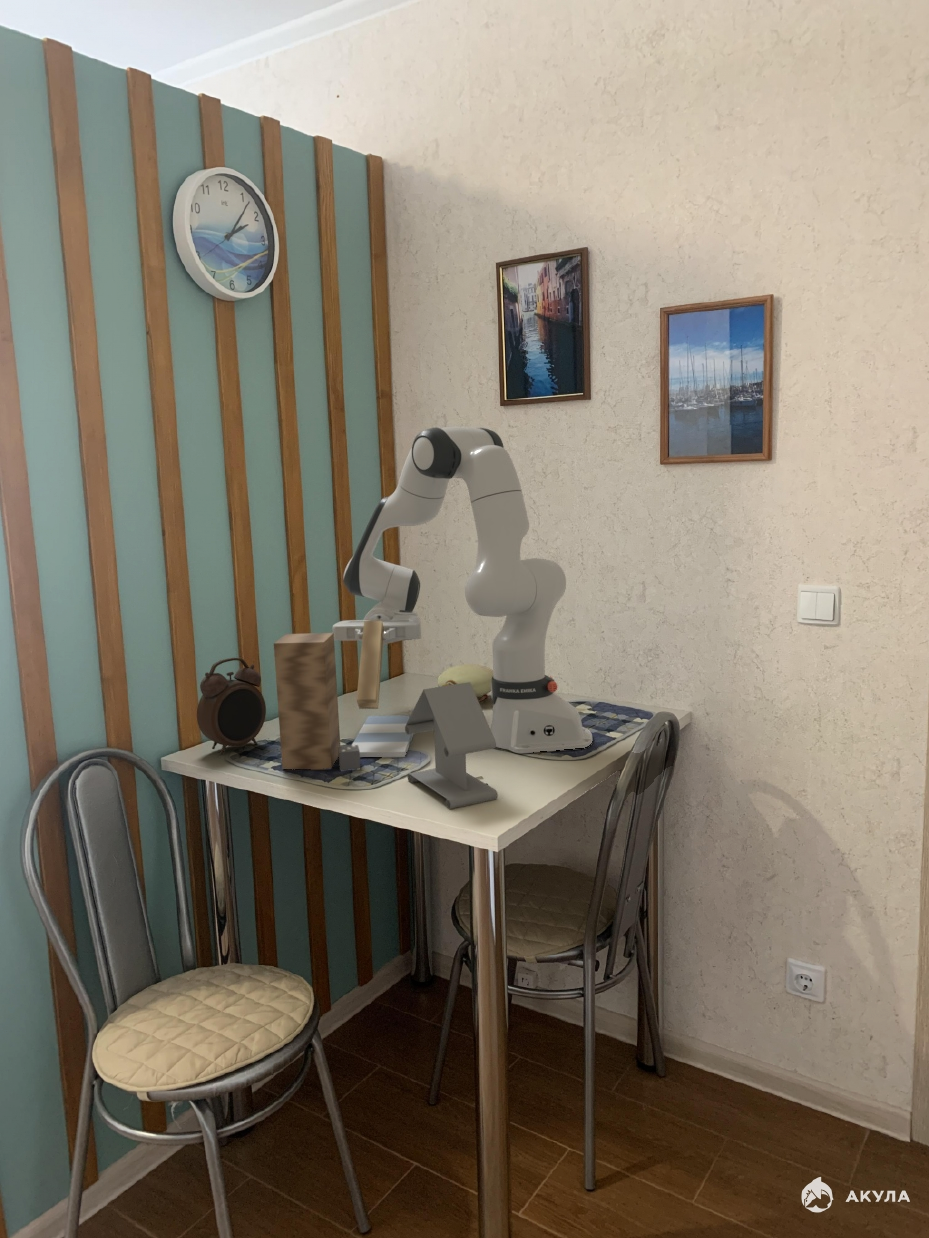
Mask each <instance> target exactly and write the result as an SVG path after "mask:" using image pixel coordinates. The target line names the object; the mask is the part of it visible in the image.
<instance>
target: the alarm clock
mask: <svg viewBox="0 0 929 1238" xmlns="http://www.w3.org/2000/svg"><path fill="white" fill-rule="evenodd" d="M233 661H234V662H235V661H238V662H239V661H240V662H241V664H242V665H243V667H242V668H240V669H238V670H237V672H235V673H234V671H229V672H227V673H226V676H227V677H229V678H226V677H225V676H224V675H223V674H221V673H220V672H215V671H216V668H217V667H218V666H219V665H222V664H224V663H227V662H228V663H229V662H233ZM204 676H205V677H203V678H202V679H201V682H200V683H199V689H200V692H201V694H202V695H201V697H200V699H199V701H198V704H197V707H196V709H197V710H196V719H197V720H196V722H197V725H198V728H199V729H200V732H201V733H202V735H204V737H205V738H207V739H208V740H210V741H213V744H212V745H213V746H212V747H211V749H212V750H215V749H216V747H217V744H219V745H221V750H220V752H219V754H220V755H223V754H224V751H225V750H226V748H227V747H242V746H244V745H246V744H248V743H250V742H253V743H254V745H255V744H257V745H258V744H259V743H258V742H257V741H256V737H257V736H258V735H259V733H260V732H261V730H262V729H263V726H264V723H265V720H266V715H267V714H266V713H267V707H266V706H267V705H266V701H265V697H264V695H263V693H262V692H261V691H260V690H259V689H258V688H260V687H261V681H262V677H261V674H260V673H259V672H258V671H257V670H256V669H255V664H251V665H248V663H247V662H246V660H244V659H243V658H241V657H229V658H224V659H221V660H220V659H219V660H218V661H216V662H214V663H213V664H212V665H211V668H210V671H209V672H205V674H204ZM232 676H233V678H234V679H232Z"/></svg>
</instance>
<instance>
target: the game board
mask: <svg viewBox="0 0 929 1238" xmlns="http://www.w3.org/2000/svg"><path fill="white" fill-rule="evenodd" d="M410 716H411V714H410V715H409V714H408V715H407V714H405V715H403V714H402V715H368V716H367V718H366V720H365V721H364V723H363V725H362V726H361V728H360V730H359V731H358V733H357V735H356V737H355V739H354V741H353V742H352V743H351V745H350V746H353V745H358V747H359V751H360V757H382V758H406V756H407V753H408V751H409V748H410V745H411V743H412V740H413V736H414V734H409V735H407V734H406V732H405V726H406V724H407V722H408V720H409V718H410ZM406 752H407V753H406ZM405 755H406V756H405Z"/></svg>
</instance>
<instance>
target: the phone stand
mask: <svg viewBox="0 0 929 1238" xmlns="http://www.w3.org/2000/svg"><path fill="white" fill-rule="evenodd" d="M410 715H411V716H410V718H409V720H408V722H407V724H406V726H405V732H406V734H407V735H409V734H419V733H424V732H425V733H426V732H430V731H431V732H432V731H433V737H434V738H433V740H434V762H435V763H434V764H435V768H430V769H424V770H421V771H415V772H409V773H407V781H408V783H410V784H413V783H417V782H421V784H423V785H425V786H427V787H428V788H430V789H431V790H432V791H434V792H436V793H437V794H439V795H440V796H442V797H444V799H446V800H445V806H446V808H447V809H449V810H453V809H457V808H461V807H466V806H470V805H474V804H480V803H484V802H488V801H493V800H497V799H498V791H497V790H496V788H494V787H492V786H490V785H488V784H487V783H485V782H483V781H481V780H480V779H479V778H476V776H473V775H471V774H470V773H468V772H467V757H466V755H467V754H472V753H477V752H482V751H487V750H492V749H495V748H497V747H496V741H495V738H494V736H493V734H492V732H491V726H490V725H489V722H488V720H487V718H486V716H485V713H484V711H483V708H482V706H481V704H480V702H478V697H476V695H475V692H474V690H473V688H472V685H471V683H470V682H467V683H461V684H454V685H448V686H442V687H438V686H437V687H431V688H430V687H429V688H424V689H423V690H422V692H421V694H420V696H419V698H418V700H417V701H416V704H415V705H414V708H413V710H412V712H411V714H410Z"/></svg>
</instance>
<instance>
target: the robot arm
mask: <svg viewBox="0 0 929 1238" xmlns="http://www.w3.org/2000/svg"><path fill="white" fill-rule="evenodd" d="M453 478H455V479H462V480H463V481H464V482H465V484H466V486H467V491H468V495H469V501H470V505H471V509H472V513H473V519H474V524H475V529H476V536H477V554H476V555H477V556H476V561H475V564H474V567H473V569H472V571H471V573H470V574H469V576H468V577H467V579H466V582H465V586H464V595H465V599H466V603H467V605H468V606H469V609H471V611H472V612H473V613H475V614H476V615H478V616H482V617H490V618H491V617H492V618H501V617H505V620H504V623H503V625H502V627H501V629H500V631H499V632H498V633H497V634H496V635H495V637H494V639H493V640H492V670H493V677H492V681H491V692H490V695H491V703H492V715H491V716H492V717H491V723H490V729H491V732H492V734H493V736H494V738H495V741H496V748H499V749H504V750H509V751H510V752H513V753H516V754H530V753H532V754H533V752H534V753H541V752H540V751H547V752H557V751H556V750H560V751H565V750H564V749H573V750H576V749H575V748H584V749H586V748H585V747H587V746H589V745H590V744H591V743H592V741H594V740H593V734H592V732H591V731H590V729H588V728H586V727H584V726H583V723H582V718H581V715H580V713H579V711H578V710H577V708H576V707H575V706H574V705H573V704H571V703H569V701H567V700H566V699H564V698H563V697H561V696H560V695H559V694H557V693H556V692H557V690H558V683H557V682H556V681H555V679H553V677H552V676H551V675H550V676H548V675H546V674H545V673H546V671H545V670H546V669H545V668H546V667H545V665H546V664H545V663H546V661H545V660H546V659H545V658H546V657H545V656H546V638H547V632H548V628H549V625H550V621H551V617H552V615H553V612H554V609H555V608H556V605H557V604H558V603H559V602H560V600H561V599H562V597H563V596H564V594H565V592H566V590H567V578H566V575H565V574H566V573H565V572H564V569H563V568H562V567H561V566H560V564H558V563H557V562H556V561H554V560H550V559H546V558H537V557H536V558H535V557H534V558H533V557H532V558H526V559H521V546H522V542H523V539H524V538H525V537H526V535H527V534H528V532H529V531H530V522H529V517H528V513H527V508H526V504H525V503H526V502H525V500H524V495H523V490H522V487H521V483H520V478H519V476H518V472H517V471H516V468H515V466H514V463H513V460H512V458H511V456H510V454H509V452H508V451H507V450H506V449H505V447H504V442H503V440H502V438H501V436H499V434H498V433H497V432H496V431H494V430H491V429H490V428H485V427H476V428H475V427H469V426H468V427H467V426H462V425H460V426H459V425H456V426H455V425H454V426H444V427H443V426H442V427H431V428H427V429H424V430H423V431H420V432H419V433H418V434H417V435H416V436H415V437H414V440H413V441H412V446H411V448H410V450H409V452H408V455H407V457H406V459H405V461H404V465H403V466H402V470H401V473H400V477H399V478H398V479H399V480H398V483H397V486H396V488H395V490H394V492H393V493H392V494H390V495H389V496H385V497H382V499H380V501H379V502H378V503H377V505H376V507H375V509H374V511H373V513H372V515H371V517H370V519H369V521H368V523H367V525H366V527H365V530H364V532H363V534H362V536H361V538H360V541H359V543H358V545H357V547H356V550H355V551H354V554H353V556H352V557H351V558H350V560H349V561H348V563H347V565H346V567H345V569H344V572H343V581H342V582H343V585H344V587H345V588H346V590H348V592H349V594H351V595H354V596H358V597H365V598H369V599H371V600H374V601H377V602H378V603H376V604H375V605H374V606H373V607H372V608H371V609H370V610H369V611H368V612H367V613H366V614H365V616H364V617H363V619H359V620H358V619H352V620H351V619H350V620H349V619H348V620H347V619H346V620H340V621H338V622H336V623H334V624H333V625H332V628H331V629H332V630H331V631H332V632H331V633H334V641H336V642H343V641H344V642H345V641H346V642H347V641H349V642H350V641H359V642H360V641H361V642H362V638H363V628H364V621H382V623H383V627H384V631H382V640H384V642H383V646H384V645H385V646H386V645H389V644H390V643H391V644H393V643H395V642H399V641H401V642H402V641H413V640H421V638H422V622H421V618H420V617H419V615H418V612H417V611H414V609H415V607H416V605H417V602H418V600H419V595H420V591H421V590H420V589H421V580H420V578H419V576H418V574H417V572H416V570H415V569H411V568H408V567H405V566H402V565H399V564H394V563H392V562H388V561H384V560H382V559H378V558H376V557H375V556H374V555H373V553H374V552H375V550H376V547H377V545H378V542H380V538H381V537H382V535H383V532H385V531H386V530H388V529H392V528H397V527H415V526H420V525H424V524H426V523H428V522H429V523H430V522H431V521H432V520H433V519H435V518H436V517H437V516H438V515H439V513H440V511H441V508H442V505H443V503H444V500H445V497H446V493H447V489H448V485H449V481H450V479H453ZM592 744H593V743H592ZM592 744H591V745H592ZM589 747H590V746H589Z"/></svg>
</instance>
